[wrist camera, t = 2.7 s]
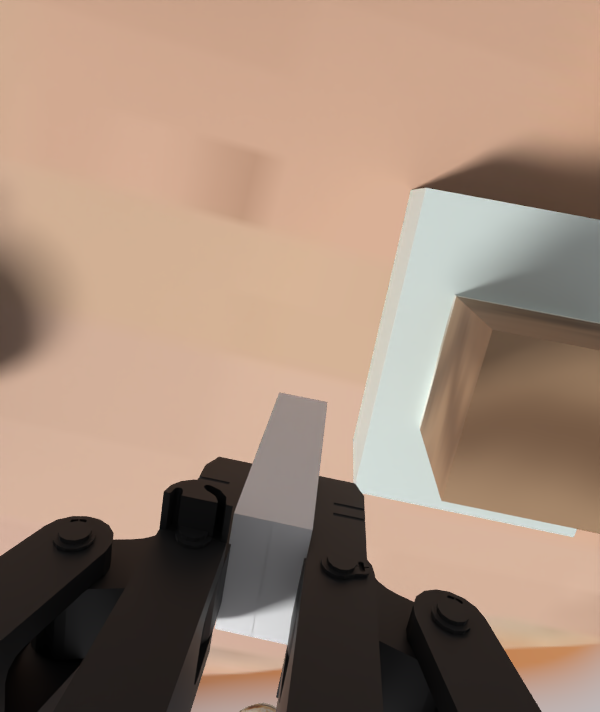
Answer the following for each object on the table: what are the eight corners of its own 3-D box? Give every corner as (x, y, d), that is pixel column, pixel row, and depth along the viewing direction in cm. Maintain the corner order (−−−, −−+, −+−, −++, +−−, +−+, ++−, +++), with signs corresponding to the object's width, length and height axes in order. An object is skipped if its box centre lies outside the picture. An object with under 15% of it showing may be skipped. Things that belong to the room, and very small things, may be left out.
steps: (410, 190, 30) (426, 187, 24) (820, 266, 29) (946, 283, 23) (353, 439, 35) (353, 491, 28) (703, 511, 34) (781, 580, 28)
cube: (454, 294, 25) (492, 329, 18) (601, 322, 25) (694, 368, 18) (419, 426, 27) (441, 500, 20) (553, 453, 27) (621, 538, 20)
